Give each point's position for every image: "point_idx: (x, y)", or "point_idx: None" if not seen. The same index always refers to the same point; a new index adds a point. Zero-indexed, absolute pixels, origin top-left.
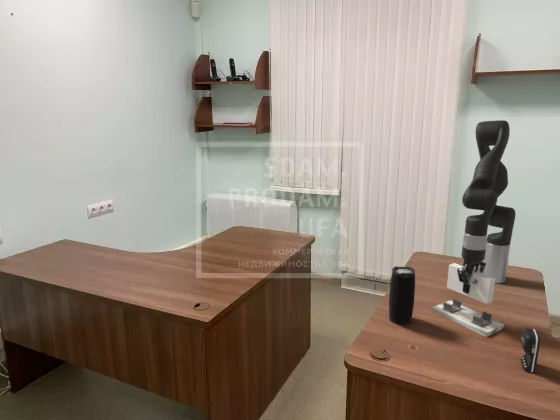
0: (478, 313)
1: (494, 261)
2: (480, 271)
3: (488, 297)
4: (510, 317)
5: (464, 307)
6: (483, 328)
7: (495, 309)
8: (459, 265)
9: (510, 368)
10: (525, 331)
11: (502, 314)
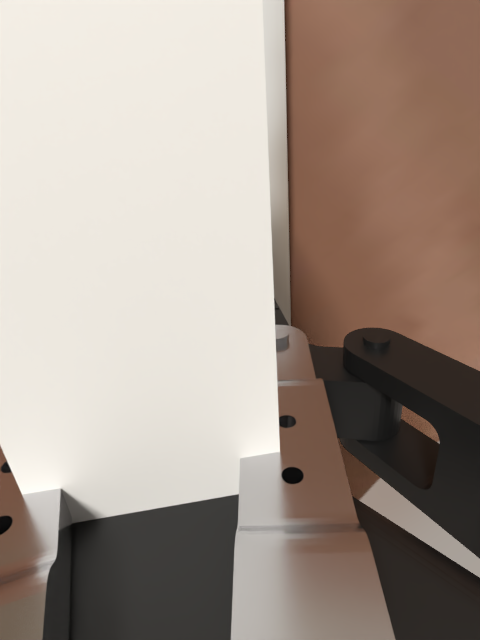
0: (275, 245)
1: None
2: (427, 501)
3: None
4: (421, 319)
5: (268, 127)
6: None
7: (456, 216)
8: (212, 103)
9: None
10: None
11: (422, 278)
